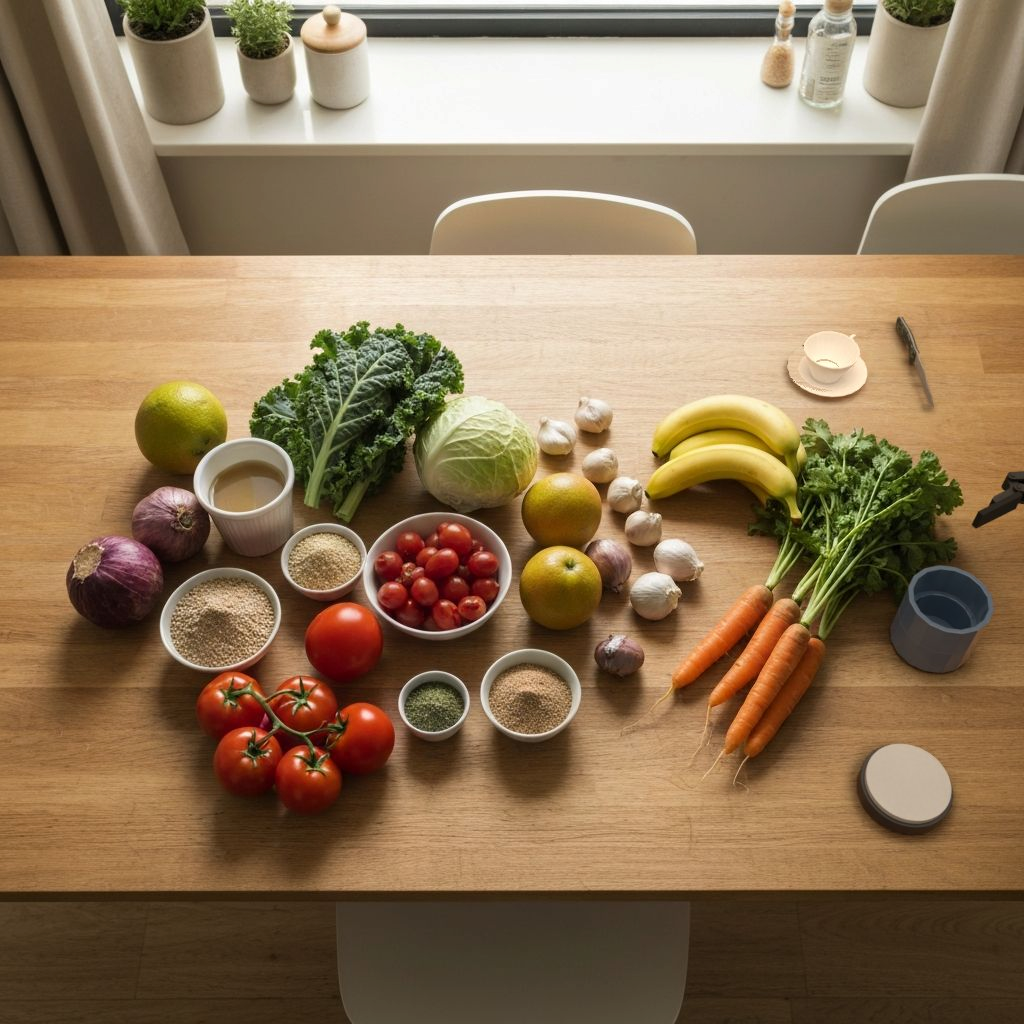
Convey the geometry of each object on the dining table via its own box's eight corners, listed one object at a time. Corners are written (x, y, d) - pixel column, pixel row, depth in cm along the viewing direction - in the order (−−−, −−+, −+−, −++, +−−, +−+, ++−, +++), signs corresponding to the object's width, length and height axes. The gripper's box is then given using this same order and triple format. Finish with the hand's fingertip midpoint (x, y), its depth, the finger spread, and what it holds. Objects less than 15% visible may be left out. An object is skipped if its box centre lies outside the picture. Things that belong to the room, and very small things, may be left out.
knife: (935, 417, 158) (941, 403, 156) (926, 417, 158) (931, 403, 156) (901, 324, 171) (906, 309, 168) (893, 324, 171) (897, 309, 168)
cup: (979, 630, 135) (1003, 587, 128) (954, 688, 130) (978, 646, 123) (904, 597, 138) (924, 553, 131) (877, 652, 133) (897, 610, 126)
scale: (959, 779, 123) (967, 767, 120) (930, 852, 118) (938, 841, 115) (875, 737, 126) (881, 725, 124) (843, 806, 121) (848, 795, 119)
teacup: (878, 368, 165) (887, 342, 161) (843, 414, 159) (851, 389, 155) (807, 337, 169) (814, 312, 165) (770, 381, 164) (776, 355, 159)
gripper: (1215, 581, 130) (1085, 654, 124) (1060, 447, 144) (936, 507, 138) (1246, 544, 124) (1111, 619, 119) (1081, 408, 138) (953, 469, 133)
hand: (1017, 559), depth 128 cm, fingers open, 13 cm apart
